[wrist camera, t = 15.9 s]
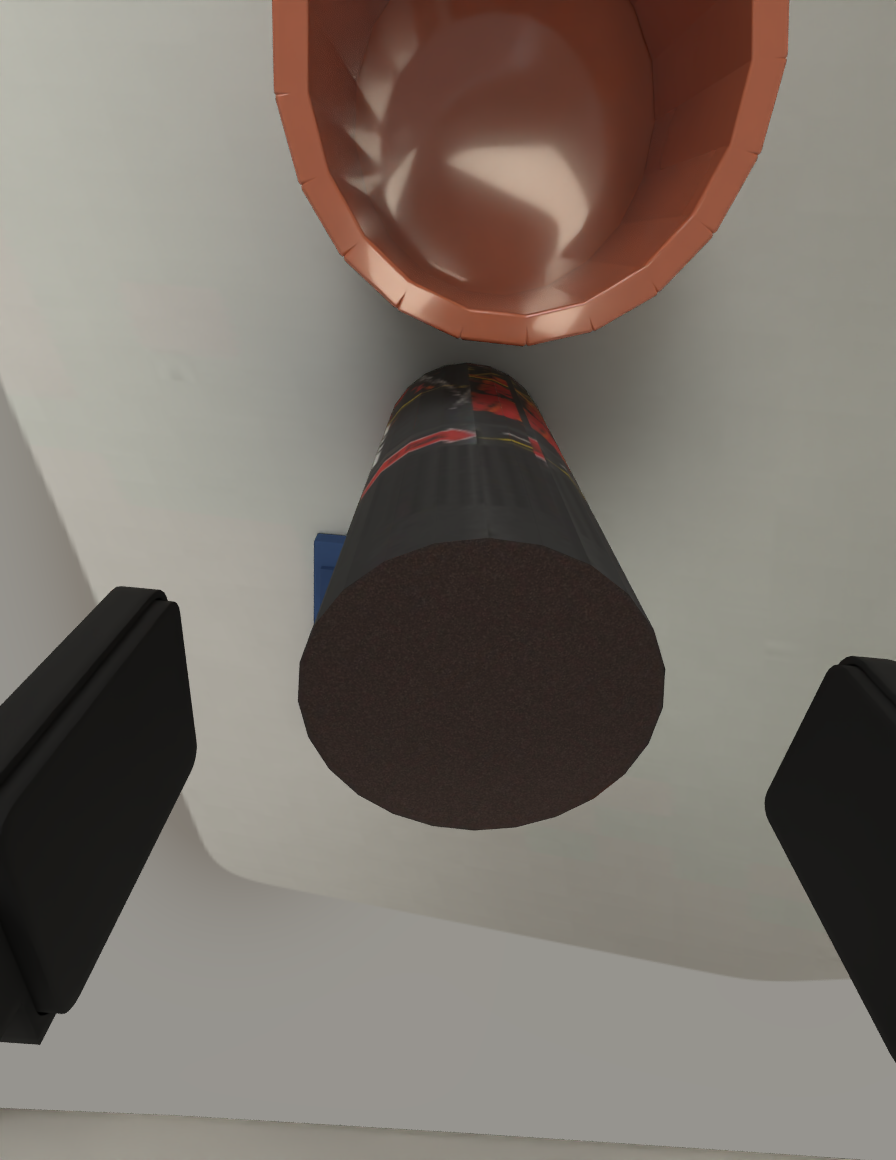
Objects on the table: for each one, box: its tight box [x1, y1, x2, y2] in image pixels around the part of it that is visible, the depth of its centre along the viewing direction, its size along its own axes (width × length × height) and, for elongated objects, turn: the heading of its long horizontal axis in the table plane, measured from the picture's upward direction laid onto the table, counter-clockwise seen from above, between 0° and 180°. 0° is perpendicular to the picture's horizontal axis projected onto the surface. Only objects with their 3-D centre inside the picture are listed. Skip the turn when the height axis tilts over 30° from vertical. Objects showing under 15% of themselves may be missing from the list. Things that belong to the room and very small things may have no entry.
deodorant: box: [298, 363, 665, 830], centre depth 17 cm, size 6×6×15 cm
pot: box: [272, 0, 789, 346], centre depth 16 cm, size 10×10×8 cm
